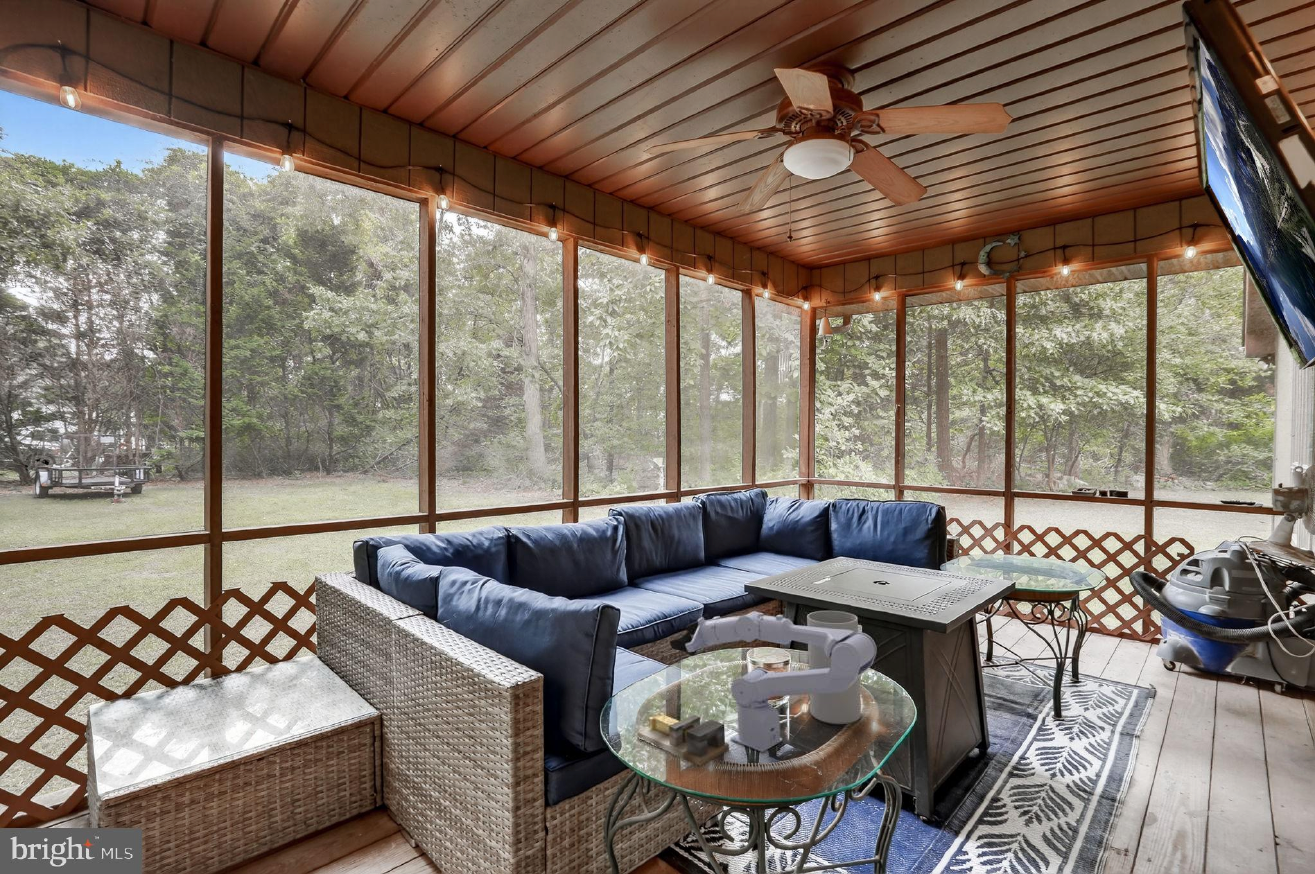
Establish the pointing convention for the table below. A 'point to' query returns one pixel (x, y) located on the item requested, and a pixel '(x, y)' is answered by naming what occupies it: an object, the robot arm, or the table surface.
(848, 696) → the cylinder vase
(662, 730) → the yellow sliding bolt
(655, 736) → the latch board
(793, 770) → the table surface
